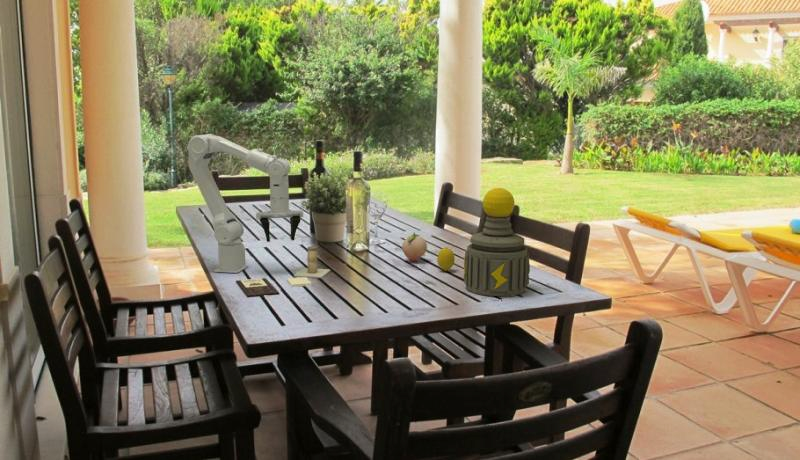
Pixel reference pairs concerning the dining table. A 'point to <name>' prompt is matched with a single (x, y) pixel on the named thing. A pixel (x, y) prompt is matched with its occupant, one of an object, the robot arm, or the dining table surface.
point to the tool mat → (319, 274)
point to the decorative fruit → (414, 247)
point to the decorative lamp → (497, 251)
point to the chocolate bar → (257, 287)
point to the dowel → (312, 259)
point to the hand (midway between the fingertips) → (280, 240)
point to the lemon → (445, 258)
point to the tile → (299, 281)
